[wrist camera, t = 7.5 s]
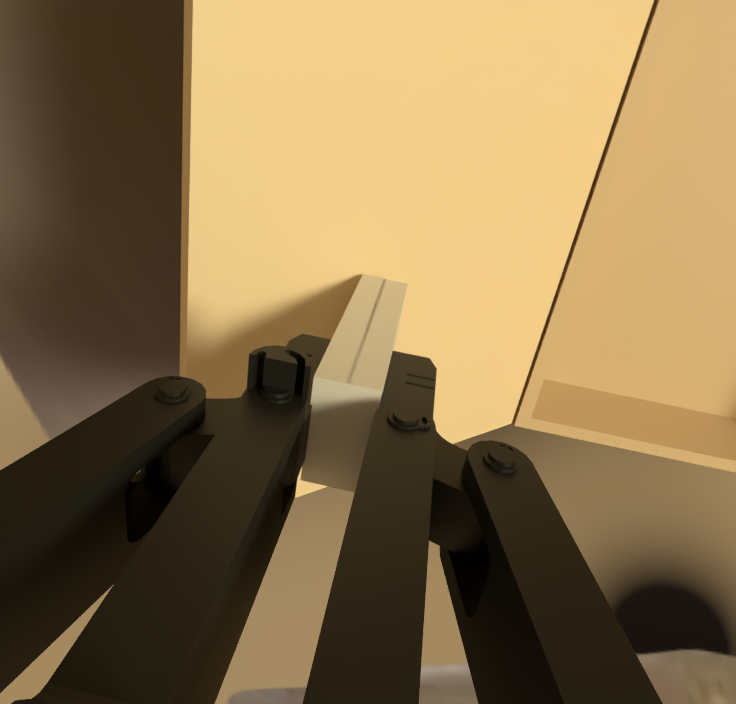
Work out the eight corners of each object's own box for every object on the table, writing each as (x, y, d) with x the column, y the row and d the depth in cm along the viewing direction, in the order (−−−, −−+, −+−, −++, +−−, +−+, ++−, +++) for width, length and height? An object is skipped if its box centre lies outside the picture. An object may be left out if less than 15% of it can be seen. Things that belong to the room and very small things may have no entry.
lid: (712, -173, 17) (693, -170, 18) (204, -603, 8) (188, -576, 8) (511, 423, 27) (502, 416, 28) (183, 536, 18) (176, 523, 19)
